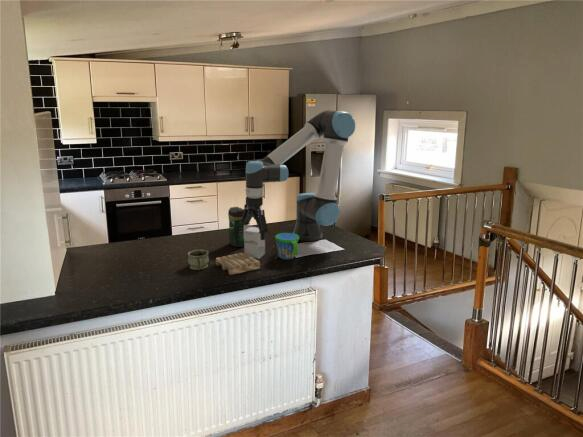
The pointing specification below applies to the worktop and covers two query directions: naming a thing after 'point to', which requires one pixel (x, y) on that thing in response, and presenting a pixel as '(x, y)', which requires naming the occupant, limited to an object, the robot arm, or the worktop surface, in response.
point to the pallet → (238, 263)
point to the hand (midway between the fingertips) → (253, 242)
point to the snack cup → (287, 245)
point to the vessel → (198, 259)
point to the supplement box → (253, 243)
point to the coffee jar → (236, 227)
